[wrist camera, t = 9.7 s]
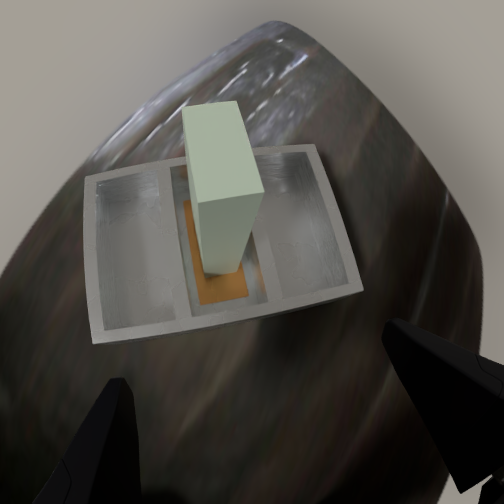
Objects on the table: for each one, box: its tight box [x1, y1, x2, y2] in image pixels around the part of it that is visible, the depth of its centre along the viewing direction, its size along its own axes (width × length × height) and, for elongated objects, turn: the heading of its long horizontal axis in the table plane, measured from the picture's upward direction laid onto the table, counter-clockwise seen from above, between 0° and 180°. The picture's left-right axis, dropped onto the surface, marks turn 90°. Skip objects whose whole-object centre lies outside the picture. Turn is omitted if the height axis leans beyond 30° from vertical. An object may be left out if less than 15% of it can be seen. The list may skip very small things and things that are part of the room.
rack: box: [83, 144, 363, 344], centre depth 17 cm, size 10×15×4 cm
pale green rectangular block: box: [182, 101, 265, 278], centre depth 14 cm, size 4×2×10 cm, turn 14°
